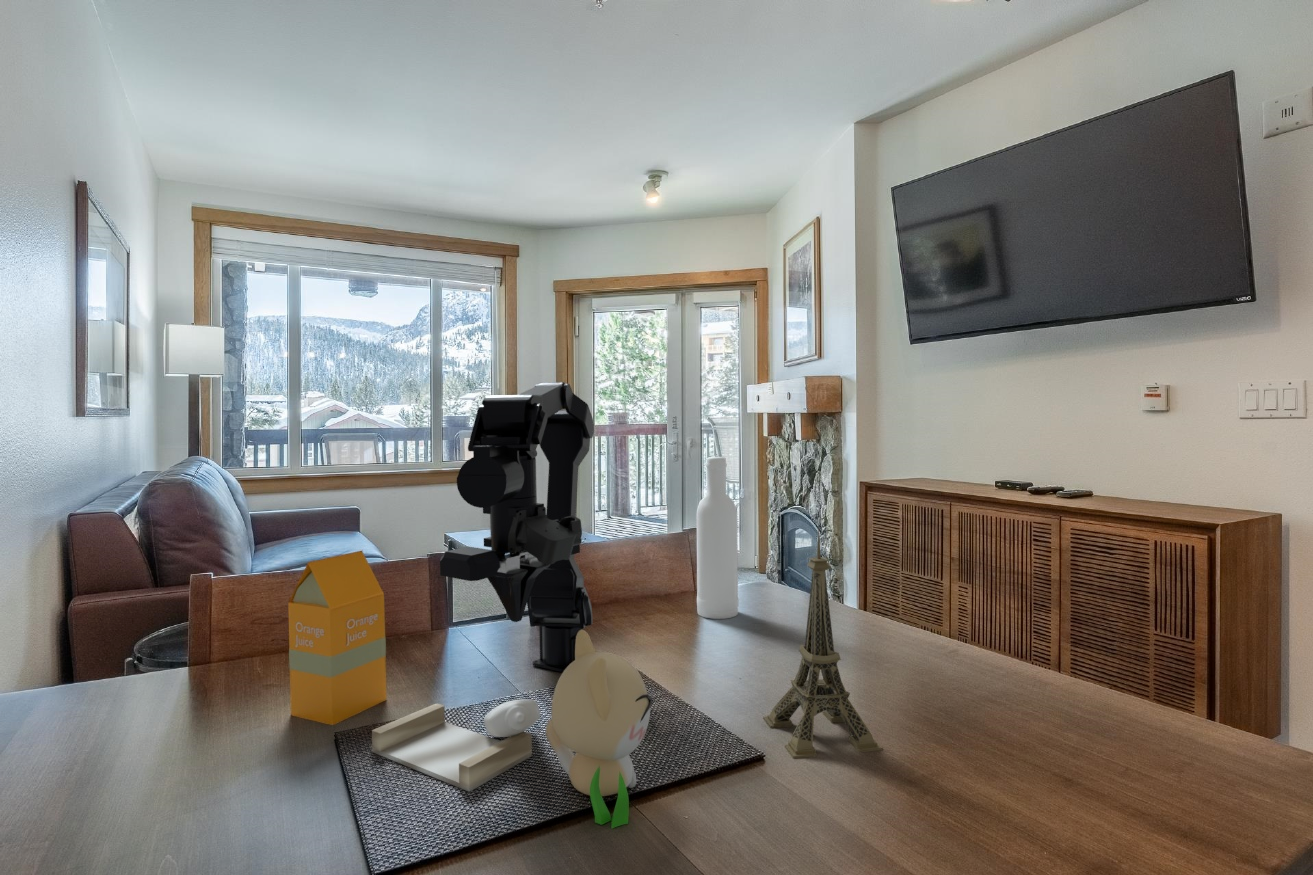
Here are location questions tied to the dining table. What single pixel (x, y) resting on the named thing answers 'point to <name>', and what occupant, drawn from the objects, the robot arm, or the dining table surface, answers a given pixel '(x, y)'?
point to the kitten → (599, 726)
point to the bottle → (717, 547)
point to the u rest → (448, 748)
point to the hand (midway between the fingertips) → (516, 620)
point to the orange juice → (336, 640)
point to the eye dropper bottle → (512, 717)
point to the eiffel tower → (817, 691)
